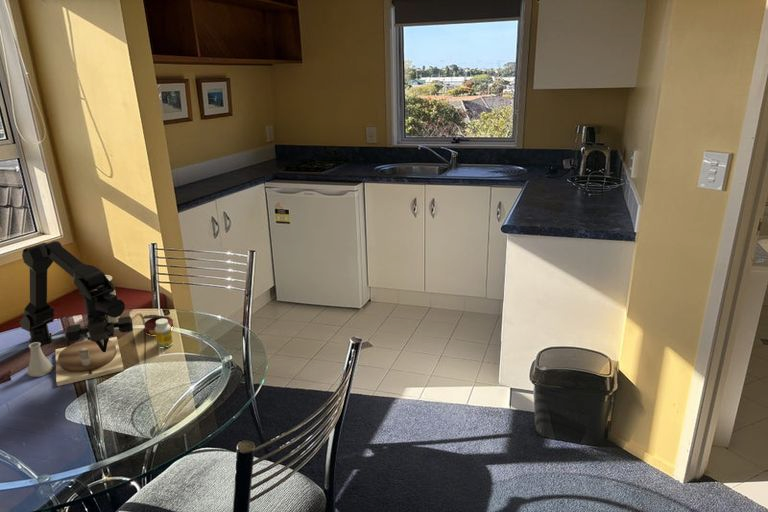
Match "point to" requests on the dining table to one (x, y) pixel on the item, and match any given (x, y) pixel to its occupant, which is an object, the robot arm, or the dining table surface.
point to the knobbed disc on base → (85, 356)
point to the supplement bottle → (163, 333)
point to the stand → (71, 377)
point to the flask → (38, 362)
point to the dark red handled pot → (154, 323)
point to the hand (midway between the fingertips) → (104, 351)
